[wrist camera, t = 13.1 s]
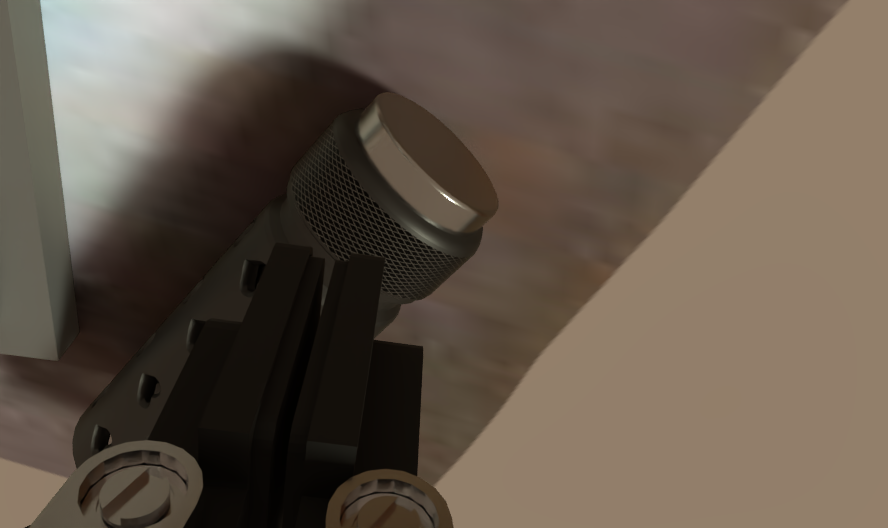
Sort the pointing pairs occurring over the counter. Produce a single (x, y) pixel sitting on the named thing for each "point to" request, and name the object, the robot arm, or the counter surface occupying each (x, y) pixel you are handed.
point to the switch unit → (31, 197)
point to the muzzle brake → (322, 244)
